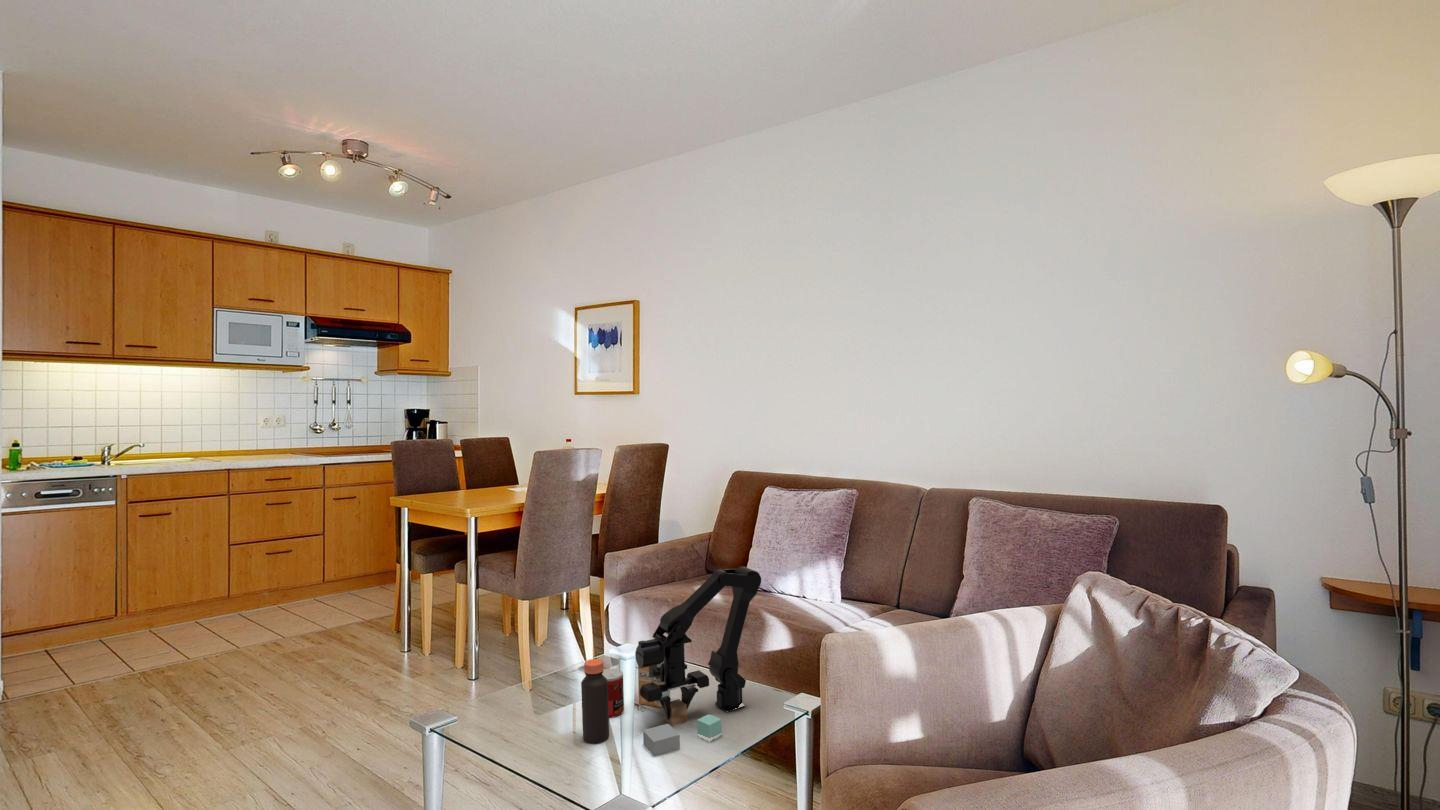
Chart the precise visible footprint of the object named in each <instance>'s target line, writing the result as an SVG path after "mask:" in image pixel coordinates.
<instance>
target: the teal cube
mask: <svg viewBox="0 0 1440 810" xmlns="http://www.w3.org/2000/svg"><path fill="white" fill-rule="evenodd" d="M722 722H723V721H722V718H719V717H718V716H714V715H712V714H710V713H709V714H706V715H704V716H701V718H697V720H696V724H697V726H696V728H697V729H696V730H697V732H696V733H697V734H700V735H703V736H705V737H708V738H711V737H714V736H716V735H718V734H720V733H722V734H723V728H722V727H723V725H722V724H723V723H722Z"/></svg>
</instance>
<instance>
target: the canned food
mask: <svg viewBox="0 0 1440 810" xmlns="http://www.w3.org/2000/svg"><path fill="white" fill-rule="evenodd" d="M602 675H603V676H604V677H606V679H607V681H608V711H609V719H612V718H616V717H619V716H621V715H622V714H623V713H622V712H624V710H625V701H624V700H625V695H624V691H625V690H624V673H623V671H622V670H621V669H618V668H611V667H610V668H604V670H603V673H602ZM621 713H622V714H621Z"/></svg>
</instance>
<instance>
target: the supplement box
mask: <svg viewBox="0 0 1440 810" xmlns="http://www.w3.org/2000/svg"><path fill="white" fill-rule="evenodd" d="M661 664H662V663H661ZM661 664H658V665H657V666H658V667H659V666H661ZM637 680H638V682H637V684H638V685H637V687H638V690H637V691H638V704H641V705H646V706H652V707H658V708H662V705H661V703H660V701H659V700H657V701H653V702H648V701H647V700H646V699H644V698H643V697H642V696H641V695H640V688H641V686H642V685H644V684H648V683H652V682H654V683H655V684H656V685H658V686H659V685H663V684H664V682H661V681H660V679H656V677H650V676H649V667H644V668H639V666H638V665H637ZM668 696H669V697H670V698H671V690H670V691H668Z"/></svg>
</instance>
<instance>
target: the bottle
mask: <svg viewBox="0 0 1440 810" xmlns="http://www.w3.org/2000/svg"><path fill="white" fill-rule="evenodd" d="M583 666H584V667H583V668H584V674H585V677H584V678H583V679H582V681H581V682H580V687H581V690H580V691H581V692H580V693H581V719H582V722H581V723H582V738H583V741H584V742H585V743H589V744H599V743H600V744H601V743H603V742H605V741H607V740H608V739H609V738H610V737H609V736H610V718H609V711H608V681H607V679H606V677H604V676H603V675H602V673H603V670H604V669H605V668H604V660H602V659H600V658H591V659H587V660H585V661H584V664H583Z"/></svg>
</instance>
